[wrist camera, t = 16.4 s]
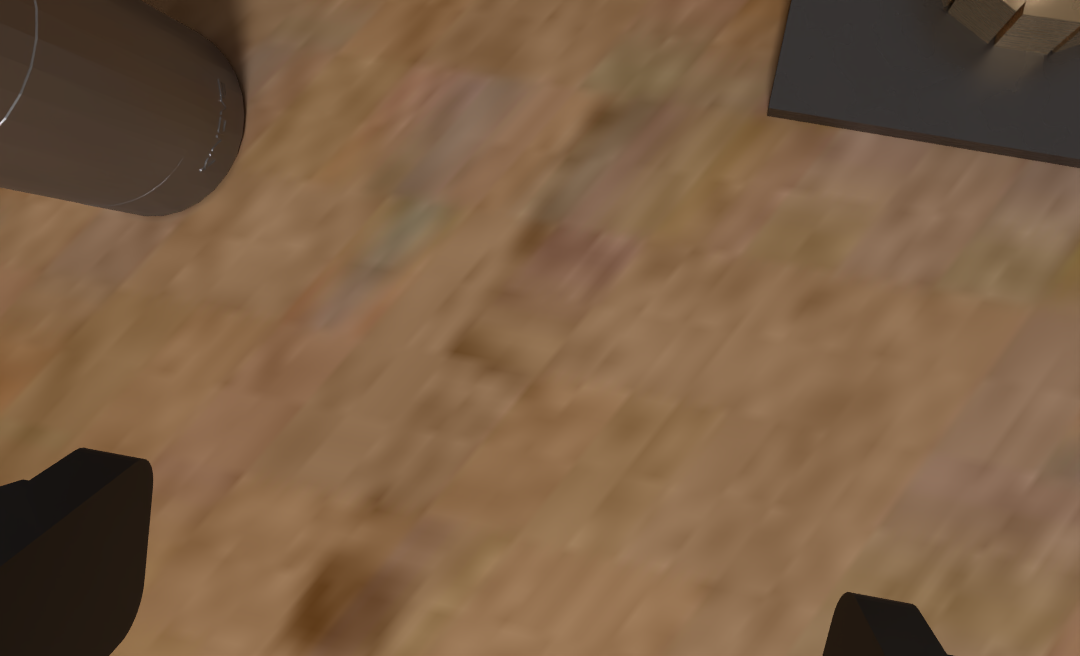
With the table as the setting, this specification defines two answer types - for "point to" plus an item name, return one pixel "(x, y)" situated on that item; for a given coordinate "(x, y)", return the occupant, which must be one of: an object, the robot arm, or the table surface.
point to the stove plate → (938, 72)
